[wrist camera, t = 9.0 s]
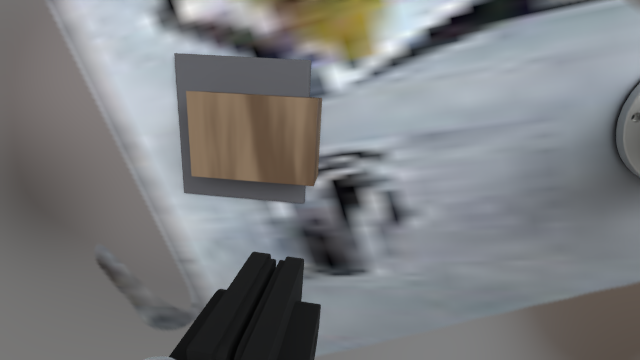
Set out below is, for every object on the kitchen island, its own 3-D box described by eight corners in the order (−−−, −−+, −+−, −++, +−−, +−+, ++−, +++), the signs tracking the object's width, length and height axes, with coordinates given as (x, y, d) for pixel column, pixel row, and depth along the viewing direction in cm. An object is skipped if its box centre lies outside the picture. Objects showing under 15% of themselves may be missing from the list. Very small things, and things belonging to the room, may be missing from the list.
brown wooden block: (317, 98, 26) (186, 90, 27) (313, 186, 29) (191, 176, 30) (322, 98, 31) (207, 91, 32) (318, 174, 33) (211, 165, 34)
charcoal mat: (311, 60, 30) (310, 60, 30) (304, 201, 34) (304, 203, 34) (177, 53, 31) (174, 53, 31) (186, 191, 36) (184, 192, 35)
